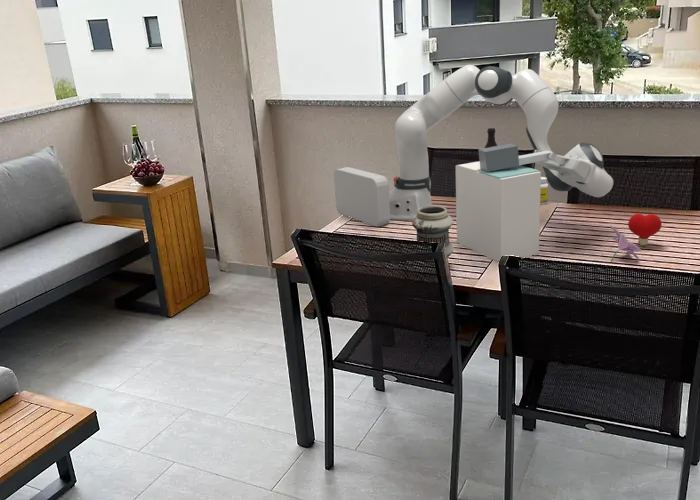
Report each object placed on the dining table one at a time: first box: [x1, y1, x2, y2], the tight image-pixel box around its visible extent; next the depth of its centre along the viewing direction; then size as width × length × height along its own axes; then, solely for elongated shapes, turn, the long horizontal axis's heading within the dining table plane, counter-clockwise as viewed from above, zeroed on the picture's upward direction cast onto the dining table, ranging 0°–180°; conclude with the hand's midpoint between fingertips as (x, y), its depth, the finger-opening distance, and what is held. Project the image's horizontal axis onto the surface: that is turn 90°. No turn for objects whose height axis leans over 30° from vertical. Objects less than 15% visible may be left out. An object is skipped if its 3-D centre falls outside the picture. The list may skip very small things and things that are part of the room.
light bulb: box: [627, 213, 662, 247], centre depth 202 cm, size 9×7×10 cm
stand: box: [455, 160, 542, 263], centre depth 206 cm, size 14×24×26 cm, turn 24°
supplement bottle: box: [540, 176, 549, 205], centre depth 254 cm, size 5×5×10 cm
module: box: [478, 143, 555, 172], centre depth 199 cm, size 22×6×6 cm, turn 99°
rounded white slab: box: [333, 166, 391, 228], centre depth 249 cm, size 29×8×18 cm, turn 33°
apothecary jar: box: [411, 204, 455, 268], centre depth 196 cm, size 12×12×18 cm
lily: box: [610, 225, 643, 262], centre depth 193 cm, size 12×12×10 cm
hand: (542, 153), depth 200 cm, fingers closed on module, 5 cm apart
